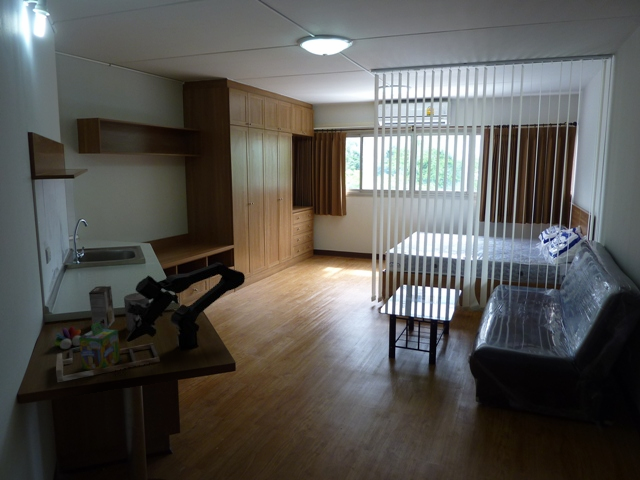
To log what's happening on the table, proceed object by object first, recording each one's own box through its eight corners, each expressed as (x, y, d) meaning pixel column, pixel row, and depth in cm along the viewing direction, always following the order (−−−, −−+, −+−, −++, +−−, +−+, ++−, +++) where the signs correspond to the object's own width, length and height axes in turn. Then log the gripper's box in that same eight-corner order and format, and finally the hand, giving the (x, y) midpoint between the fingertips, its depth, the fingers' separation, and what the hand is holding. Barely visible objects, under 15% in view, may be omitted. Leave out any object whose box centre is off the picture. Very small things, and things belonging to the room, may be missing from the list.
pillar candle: (133, 322, 205) (130, 289, 202) (155, 323, 204) (152, 289, 201) (122, 331, 196) (118, 296, 193) (145, 331, 195) (141, 296, 192)
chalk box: (105, 371, 160) (101, 329, 157) (81, 369, 161) (76, 328, 159) (122, 360, 168) (118, 320, 166) (99, 358, 170) (94, 318, 168)
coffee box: (99, 322, 207) (96, 286, 204) (115, 321, 208) (111, 285, 205) (92, 329, 198) (88, 292, 195) (108, 328, 199) (104, 291, 196)
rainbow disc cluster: (86, 344, 183) (84, 326, 182) (59, 352, 176) (57, 334, 175) (78, 339, 189) (76, 321, 187) (51, 346, 182) (49, 328, 180)
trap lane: (149, 337, 189) (148, 327, 188) (159, 361, 167) (158, 350, 166) (59, 353, 175) (57, 343, 174) (57, 382, 152) (56, 370, 152)
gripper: (136, 286, 175) (106, 320, 172) (143, 300, 159) (110, 337, 156) (160, 303, 180) (131, 336, 177) (169, 318, 164) (138, 355, 161)
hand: (127, 341), depth 167 cm, fingers closed
